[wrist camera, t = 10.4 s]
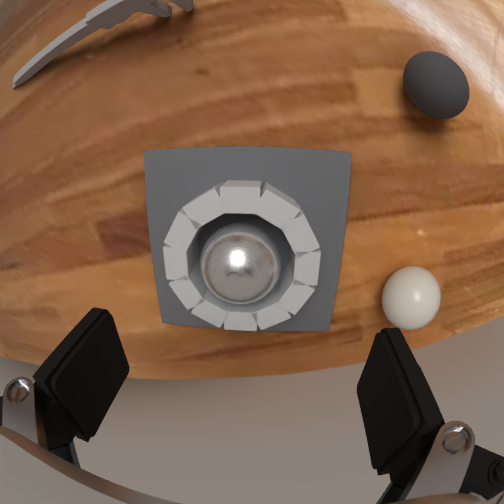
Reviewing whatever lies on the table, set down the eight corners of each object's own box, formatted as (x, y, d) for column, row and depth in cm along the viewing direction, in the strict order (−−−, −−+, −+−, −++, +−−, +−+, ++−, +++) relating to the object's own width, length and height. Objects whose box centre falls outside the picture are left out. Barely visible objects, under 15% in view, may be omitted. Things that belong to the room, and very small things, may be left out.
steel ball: (283, 215, 18) (284, 240, 13) (279, 282, 20) (278, 323, 15) (209, 212, 18) (185, 235, 14) (211, 278, 20) (193, 316, 16)
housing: (347, 152, 17) (366, 154, 14) (326, 324, 22) (335, 355, 19) (149, 150, 18) (123, 153, 14) (166, 316, 23) (150, 344, 19)
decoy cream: (429, 256, 20) (460, 283, 15) (414, 307, 21) (439, 339, 17) (379, 254, 20) (406, 284, 15) (367, 309, 22) (386, 345, 17)
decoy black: (442, 70, 14) (478, 59, 9) (444, 126, 16) (484, 126, 11) (390, 53, 14) (421, 33, 9) (392, 112, 16) (428, 105, 11)
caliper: (194, 2, 13) (170, -39, 8) (195, 12, 14) (170, -28, 8) (16, 81, 15) (-26, 79, 9) (15, 90, 15) (-27, 89, 10)
